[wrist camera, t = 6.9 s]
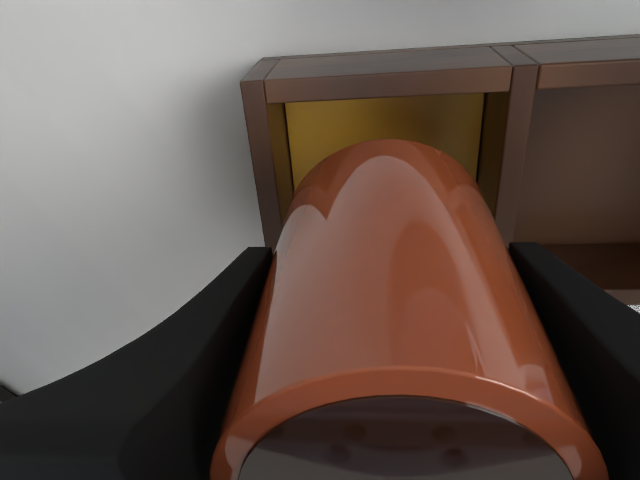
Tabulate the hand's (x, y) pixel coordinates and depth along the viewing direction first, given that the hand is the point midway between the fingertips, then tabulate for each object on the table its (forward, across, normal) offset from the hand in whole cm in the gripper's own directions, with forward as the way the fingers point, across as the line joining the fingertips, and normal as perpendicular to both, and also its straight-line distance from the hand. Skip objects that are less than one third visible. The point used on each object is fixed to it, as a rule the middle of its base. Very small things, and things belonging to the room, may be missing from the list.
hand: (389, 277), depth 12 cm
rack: (+8, -4, 0) cm, 8 cm away
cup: (+2, 0, 0) cm, 2 cm away
